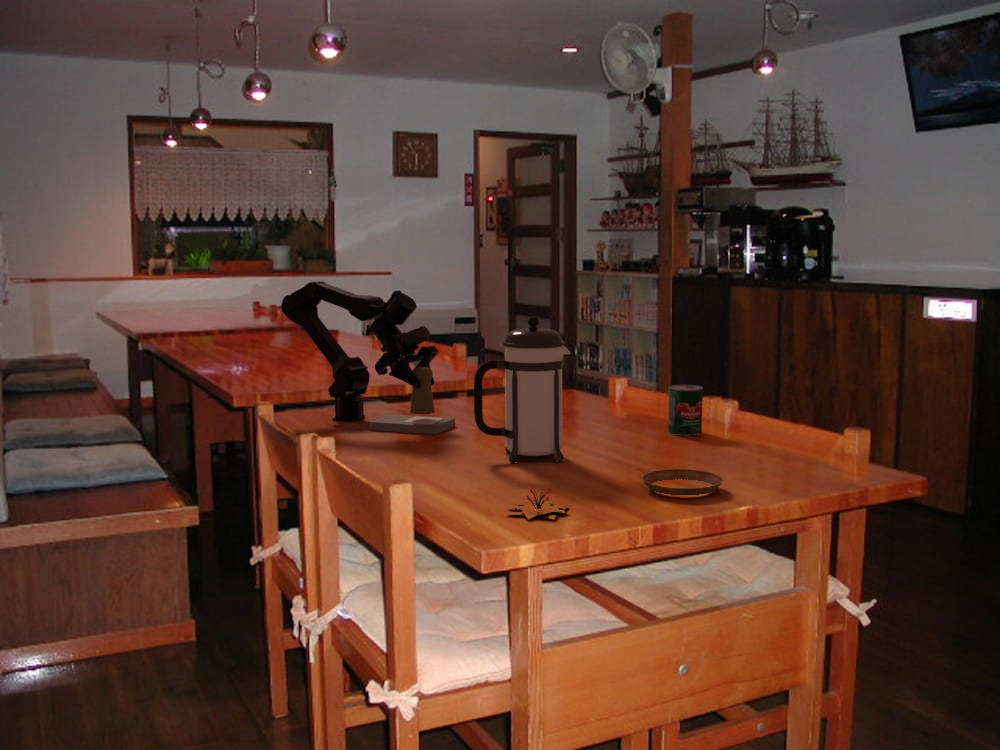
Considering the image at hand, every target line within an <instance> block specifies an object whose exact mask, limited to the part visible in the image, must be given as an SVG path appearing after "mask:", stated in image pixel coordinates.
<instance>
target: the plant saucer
mask: <svg viewBox="0 0 1000 750" xmlns="http://www.w3.org/2000/svg"><path fill="white" fill-rule="evenodd" d="M673 479H674V480H675V479H677V480H678V479H683V480H684V479H686V480H687V479H688V480H698V481H704V482H707V483H710V484H712V485H714V486H710V487H703V488H669V487H662V486H657V485H653V484H652V483H654V482H657V481H662V480H673ZM641 480H642V481H643V483H644V484H645V486H646V487H647V488H649V490H651V491H652V490H653V491H656V492H659V493H664V494H671V495H699V494H706V493H710V492H713V491H714V492H715V491H716V490H717V489H718V488H719V487H720V486H721V485H722V484H723V482H724V478H723V477H722V476H721V475H719V474H716V473H713V472H709V471H705V470H699V469H687V468H667V469H660V470H653V471H649V472H647V473H645V474H643V475H642V476H641ZM653 491H652V492H653ZM714 492H713V493H714Z"/></svg>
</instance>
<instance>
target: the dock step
mask: <svg viewBox="0 0 1000 750" xmlns="http://www.w3.org/2000/svg"><path fill="white" fill-rule="evenodd" d="M454 427H456V418H454V417H439V416H423V415H411V414H408V415H407V414H396V413H389V414H387V415H384V416H382V417H379V418H375V419H373V420H371V421H368V430H369V431H379V432H393V433H405V434H406V433H407V434H420V435H421V434H422V435H423V434H424V435H435V436H436V435H439V434H440V433H443V432H445V431H448V430H449V429H452V428H454Z"/></svg>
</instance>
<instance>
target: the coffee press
mask: <svg viewBox="0 0 1000 750" xmlns="http://www.w3.org/2000/svg"><path fill="white" fill-rule="evenodd" d="M539 321H540V320H539V319H538V318H537V317H536V316H530V317H529V318H528V320H527V324H528V326H529V327H527V328H524V327H523V328H517V329H513V330H512V331H509V332H508V333H507V334H506V335H505V339H504V340H503V341H502V346H503V349H504V358H503V360H499V359H498V360H496V359H491V360H488V361H484V362H483V363H482V364H481V365H480V366H478V368H477V370H476V372H475V375H474V379H473V411H474V415H473V416H474V421H475V424H476V426H477V428H478V429H479V431H481V432H482V433H483V434H485V435H488V436H494V437H505V453H506V454H508V453H509V457H508V462H509V463H511V462H512V463H511V464H516V463H515V462H517V463H519V461H520V459H521V458H522V457H525V456H527V457H540V456H541V457H542V456H550V457H551V458H552V459H553V460H554V462H555V461H558V462H557V463H560V461H561V462H563V461H564V459H565V458H564V455H563V453H562V451H561V448H562V447H563V368H564V358H563V356H564V355H571V351H570V350H569V349H568V347H566V345H565V340H562V336H561V334H560V333H559V332H557V331H556V330H555V329H551V328H543V327H537V326H538V325H539ZM499 368H500V369H501V368H504V399H505V400H504V403H505V407H504V410H505V411H504V412H505V413H504V414H505V418H504V419H505V426H503V427H502V426H501V427H492V426H490V425H487V424H486V423H485V421H484V418H483V417H484V415H483V414H484V413H483V379H484V377H485V375H486V373H488V371H490V370H493V369H499Z"/></svg>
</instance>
